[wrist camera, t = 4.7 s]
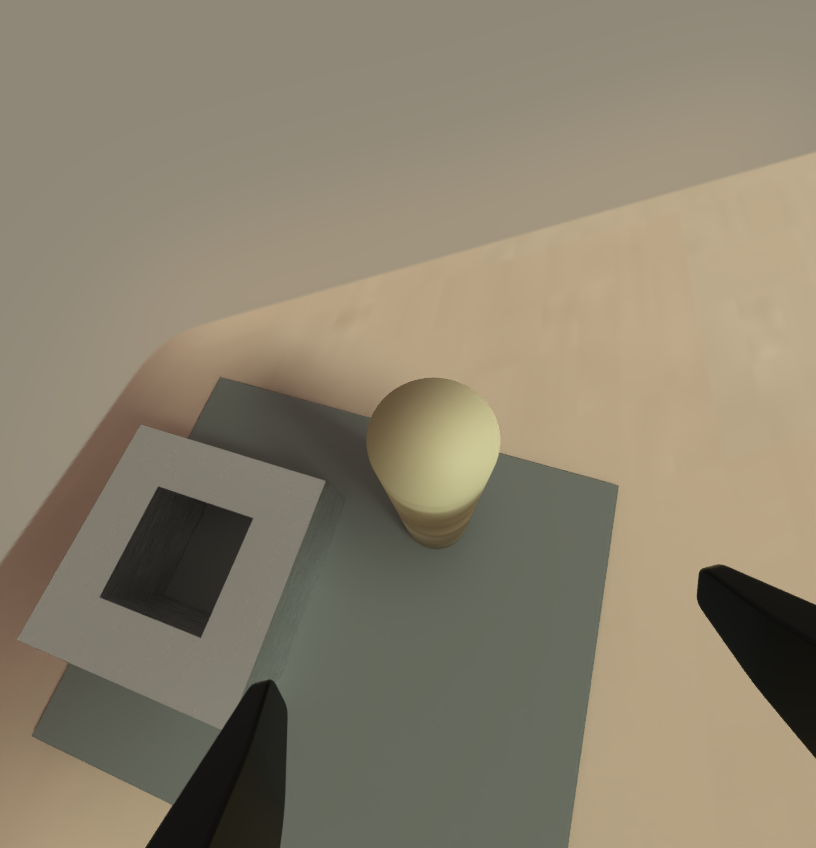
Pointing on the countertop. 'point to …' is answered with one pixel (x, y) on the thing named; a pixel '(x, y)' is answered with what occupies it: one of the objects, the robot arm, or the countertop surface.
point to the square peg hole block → (157, 562)
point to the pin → (433, 455)
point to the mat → (392, 651)
